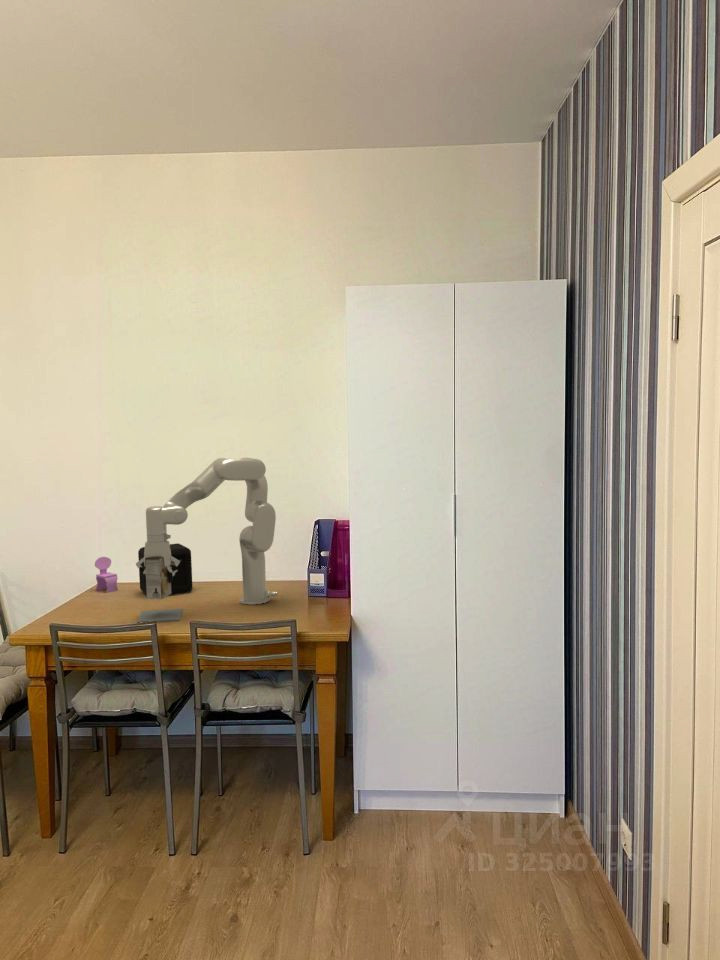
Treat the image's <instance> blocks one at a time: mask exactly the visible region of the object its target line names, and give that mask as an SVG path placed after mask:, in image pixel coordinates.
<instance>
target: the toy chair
mask: <svg viewBox="0 0 720 960" xmlns="http://www.w3.org/2000/svg"><path fill="white" fill-rule="evenodd" d="M111 565H112V559H111V558H110V557H107V556H101V557H98V558H97V559H96V560H95V562H94V566H95V568H96V569H97V570H99V574H96V576H95V578H96V579H95V580H96V588H95V590H94V591H95V592H97V591H100V590H105V589H106V590H105V594H108V593H112V592H116V591H119V588H118V578H119V577H118V573H112V572H109V571H108V568H110V567H111ZM107 571H108V572H107Z"/></svg>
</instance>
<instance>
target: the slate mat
mask: <svg viewBox="0 0 720 960" xmlns="http://www.w3.org/2000/svg"><path fill="white" fill-rule="evenodd" d="M183 610H184V609H183V608H170V609H169V608H168V609H166V608H165V609H151V610H148V609H147V610H141V612H140V614H139V616H138V619H137V621H136V624H141V623H140V622H150V621H156V622H155V623H163V622H180V621H181V618H182V614H183Z"/></svg>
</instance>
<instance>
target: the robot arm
mask: <svg viewBox="0 0 720 960" xmlns="http://www.w3.org/2000/svg"><path fill="white" fill-rule="evenodd" d="M266 470H267V469H266V465H265V463H264V462H263V461H262V460H260V459H258V458H253V457H242V458H240V459H234V458H233V459H232V458H225V457H219V458H217V459H215V460H213V461H212V463H210V464H209V465H208V466H206V468H205V469H204V470H203V471H202V472H201V473H200V474H198V476H197V477H196V478H195V479H194V480H193V481H192V482H190V483H188V485H186V486H184V487H183V488H181V489H180V490H178V491H177V492H176V493H175V494H173V496H172V497H170V499H169V500H167V501H166V502H165V504H164V505H163V506H160V505H158V506H157V505H156V506H155V505H154V506H149V507H147V508H146V509H145V521H146V522H145V524H146V526H145V527H146V541H145V543H144V547H145V550H144V558H142V559H141V560H140V561H139V560H138V561H137V562H136V563H135V566H136V568H138V571H139V570H140V571H142V572H143V574H144V581H145V582H146V569H144V568H143V567H142V566H141V563H143V562H144V565H145V558H150V557H164V565H165V567H166V568H167V569H168V570H169V573H168V579H169V583H171V580H173V574H172V572H173V571H174V570H175V569H176V568H177V566H178V565H179V563H180V561H179V560H177V559H176V558H174V557H172V556H171V548H170V544H171V543H170V540H169V539H171V537H172V536H171V535H172V534H168V532H167V525H173V526H174V525H178V526H179V525H182V524H184V523H185V522H186V521H187V519H188V515H189V514H188V511H187V508H188V507H190V506H191V505H193V504H194V503H196V502H200V501H201V500H204V499H206V498H208V497H210V496H211V495H212V494H213V493H214V492H215V491H216V489H218V487H220V486H221V485H223V483H224V481H235V482H236V481H245V484H246V499H245V508H244V517H245V519H246V520H247V521H248V522H250V523H252V525H248V526H246V527H243V528H242V529H241V531H240V534H239V547H240V551H241V569H242V571H241V572H242V576H241V577H242V592H243V593H242V597H240V598H239V603H240V604H243V605H249V606H251V605H254V606H255V605H256V604H257V605H262V603H264V604H267V603H269V602H270V601H271V597H278V591H274V590H270V591H269V590H268V589H267V579H266V578H267V576H266V554H265V552H267V551H269V550H270V548H271V547H272V545H273V542H274V537H275V529H276V519H277V517H276V510H275V508H274V506H273V505H272V504H271V503H269V502H268V490H269V487H268V486H269V485H268V480H267V478H266ZM172 561H173V562H175V565H174V566H173V567H171V566H170V565H171V563H172ZM268 601H269V602H268ZM266 602H267V603H266Z"/></svg>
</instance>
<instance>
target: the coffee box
mask: <svg viewBox="0 0 720 960" xmlns="http://www.w3.org/2000/svg"><path fill="white" fill-rule="evenodd" d="M145 569H146V589H147V594H146V599H147V600H163V599H164V598H167V597H168V596H171V595H170V594H171V593H172V592H171V583H169V579H168V573H169V570H168V569H167V568H166V567H165V565H164V557H150V558H145Z"/></svg>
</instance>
